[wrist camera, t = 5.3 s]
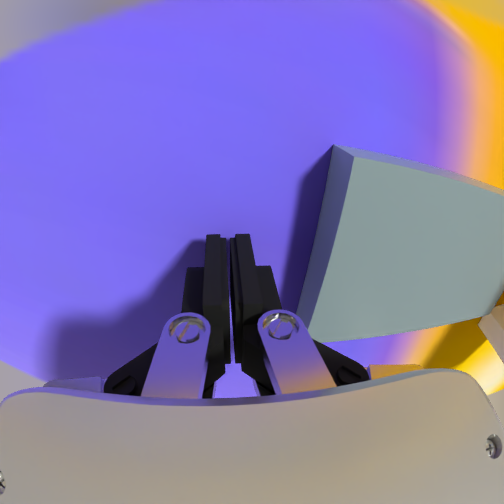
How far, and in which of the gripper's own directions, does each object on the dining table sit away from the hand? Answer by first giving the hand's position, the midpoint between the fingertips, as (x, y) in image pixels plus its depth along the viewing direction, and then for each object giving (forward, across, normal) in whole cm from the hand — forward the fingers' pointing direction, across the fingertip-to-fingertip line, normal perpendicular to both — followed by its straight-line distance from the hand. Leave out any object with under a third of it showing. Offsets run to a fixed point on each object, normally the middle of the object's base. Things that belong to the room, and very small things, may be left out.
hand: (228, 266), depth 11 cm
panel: (+1, -12, 0) cm, 12 cm away
